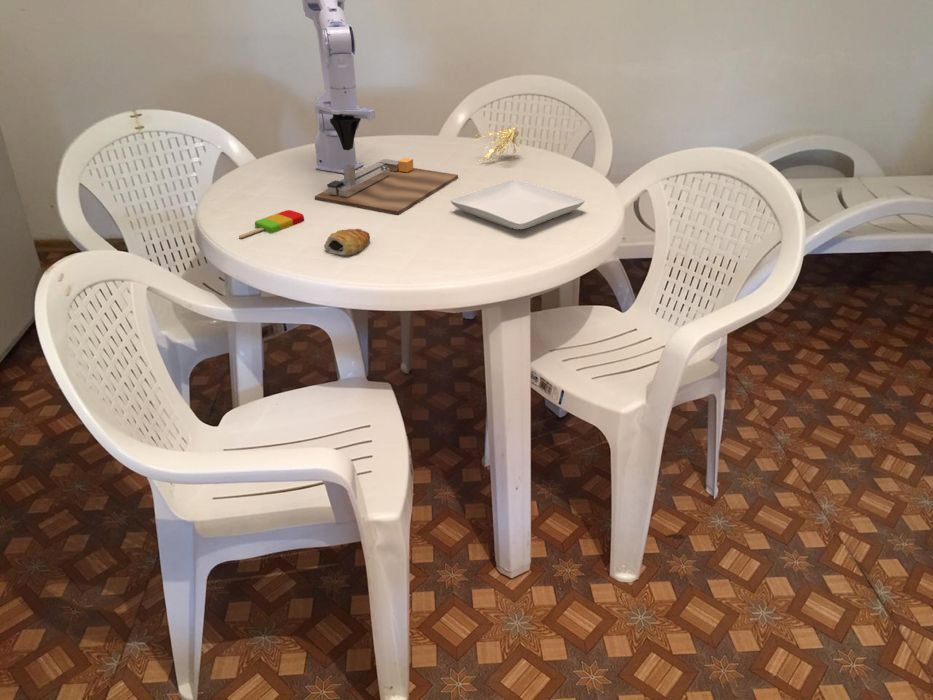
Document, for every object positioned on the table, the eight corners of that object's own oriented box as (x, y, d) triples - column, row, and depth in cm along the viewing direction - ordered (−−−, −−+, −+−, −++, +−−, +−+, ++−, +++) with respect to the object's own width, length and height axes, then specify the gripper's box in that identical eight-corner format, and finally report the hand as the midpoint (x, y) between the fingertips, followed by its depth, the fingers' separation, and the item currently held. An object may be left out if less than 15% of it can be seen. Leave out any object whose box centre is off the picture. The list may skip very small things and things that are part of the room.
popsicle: (307, 222, 152) (306, 214, 151) (249, 244, 142) (247, 235, 141) (290, 216, 155) (288, 208, 154) (231, 238, 145) (230, 229, 144)
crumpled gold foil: (470, 169, 191) (460, 139, 184) (509, 138, 195) (500, 108, 189) (500, 179, 183) (490, 149, 177) (539, 147, 188) (531, 116, 182)
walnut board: (381, 166, 184) (381, 162, 184) (458, 178, 176) (458, 174, 175) (314, 199, 163) (314, 196, 163) (398, 215, 154) (398, 211, 154)
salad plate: (513, 190, 169) (513, 176, 167) (586, 213, 156) (587, 198, 154) (447, 213, 156) (447, 198, 155) (520, 240, 143) (521, 224, 142)
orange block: (405, 167, 180) (404, 157, 178) (413, 168, 179) (412, 159, 177) (398, 170, 177) (398, 161, 176) (407, 172, 176) (406, 162, 175)
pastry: (352, 236, 145) (350, 218, 143) (379, 243, 142) (378, 224, 140) (321, 252, 138) (319, 234, 136) (350, 260, 135) (348, 241, 133)
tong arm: (382, 173, 176) (380, 148, 172) (390, 174, 175) (388, 149, 172) (339, 195, 162) (336, 169, 159) (347, 197, 161) (345, 170, 158)
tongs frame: (385, 165, 181) (384, 156, 180) (402, 167, 179) (402, 159, 178) (328, 193, 163) (327, 184, 162) (347, 197, 161) (346, 187, 160)
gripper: (304, 87, 157) (311, 149, 164) (360, 93, 151) (365, 157, 158) (323, 81, 162) (329, 141, 169) (378, 86, 157) (382, 149, 164)
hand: (348, 149), depth 164 cm, fingers closed
